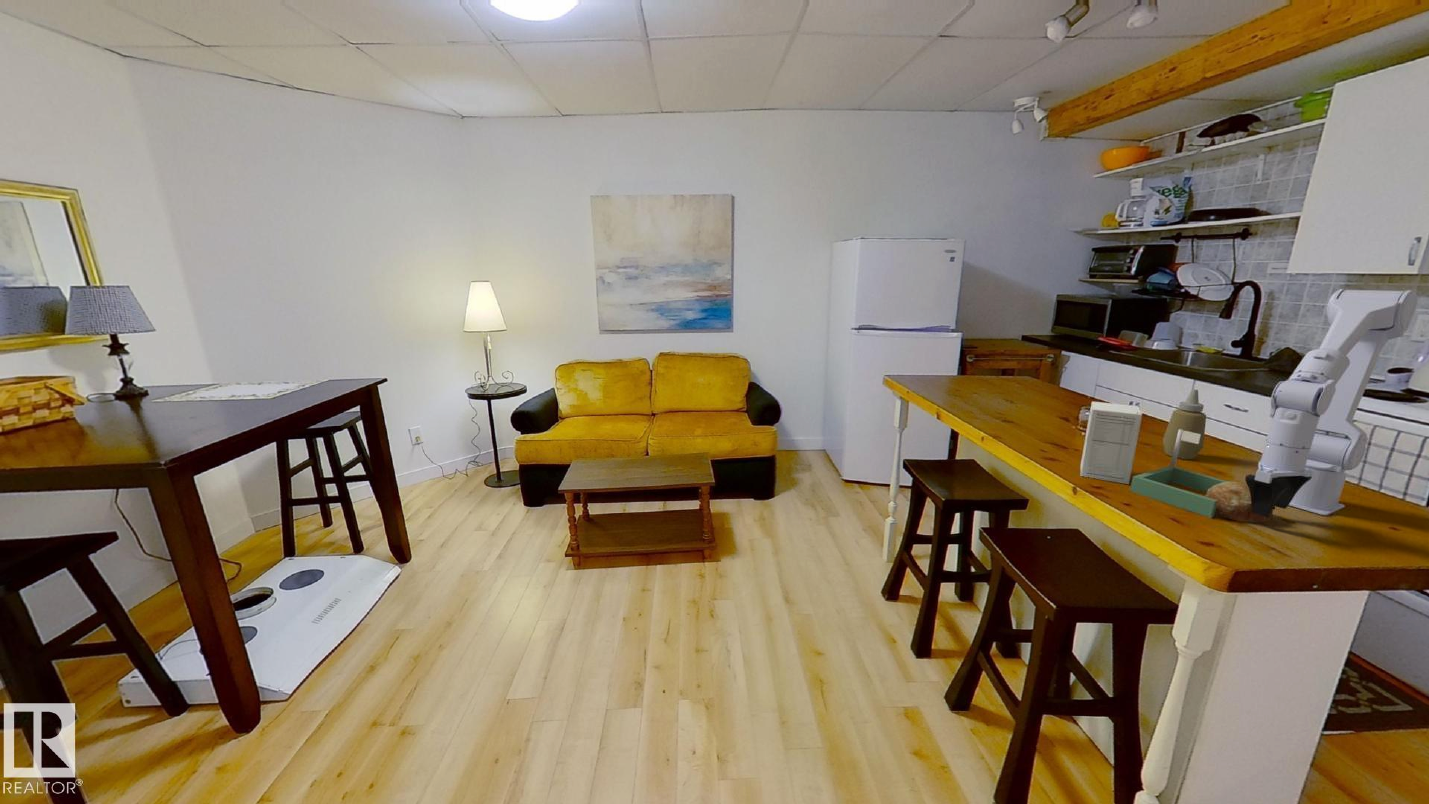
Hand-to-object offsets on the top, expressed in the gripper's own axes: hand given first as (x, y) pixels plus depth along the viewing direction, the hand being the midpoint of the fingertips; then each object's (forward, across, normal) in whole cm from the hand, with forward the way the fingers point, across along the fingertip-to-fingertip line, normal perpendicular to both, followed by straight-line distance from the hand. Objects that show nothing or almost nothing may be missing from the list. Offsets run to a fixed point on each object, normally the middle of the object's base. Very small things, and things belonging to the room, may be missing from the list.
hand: (1269, 510), depth 100 cm
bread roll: (+3, 0, +4) cm, 5 cm away
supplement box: (+3, -2, +28) cm, 28 cm away
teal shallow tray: (+2, 0, +12) cm, 12 cm away
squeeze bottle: (+3, +30, +27) cm, 40 cm away
